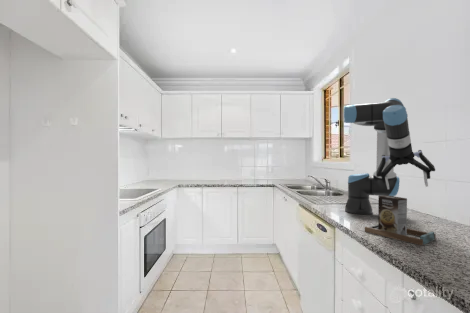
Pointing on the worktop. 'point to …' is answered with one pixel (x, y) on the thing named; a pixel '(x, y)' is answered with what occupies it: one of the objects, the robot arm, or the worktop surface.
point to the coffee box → (392, 214)
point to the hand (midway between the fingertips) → (406, 186)
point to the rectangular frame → (423, 239)
